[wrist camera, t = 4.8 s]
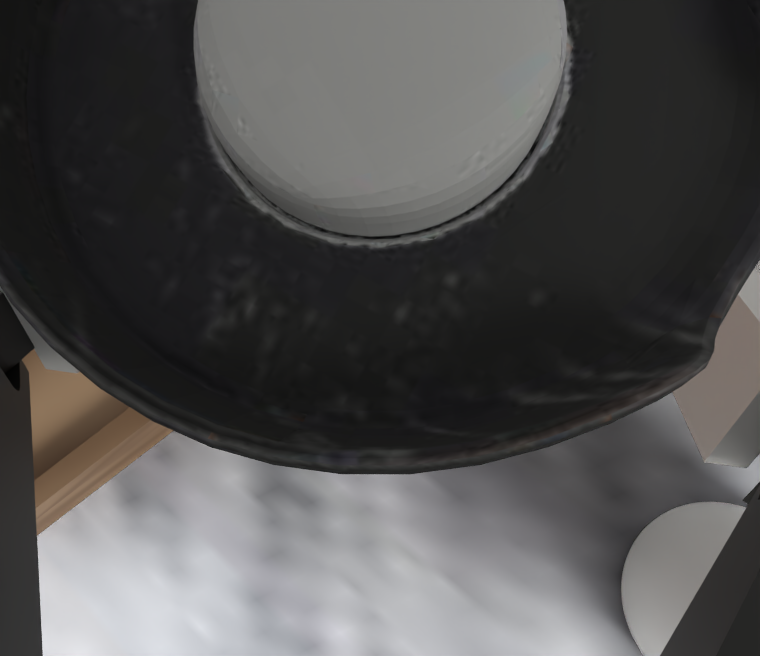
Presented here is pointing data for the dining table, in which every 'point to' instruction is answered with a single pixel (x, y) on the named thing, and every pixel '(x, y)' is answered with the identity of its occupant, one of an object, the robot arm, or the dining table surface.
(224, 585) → the dining table surface
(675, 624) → the candle holder
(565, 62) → the travel mug
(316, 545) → the dining table surface
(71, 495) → the tray
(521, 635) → the dining table surface
